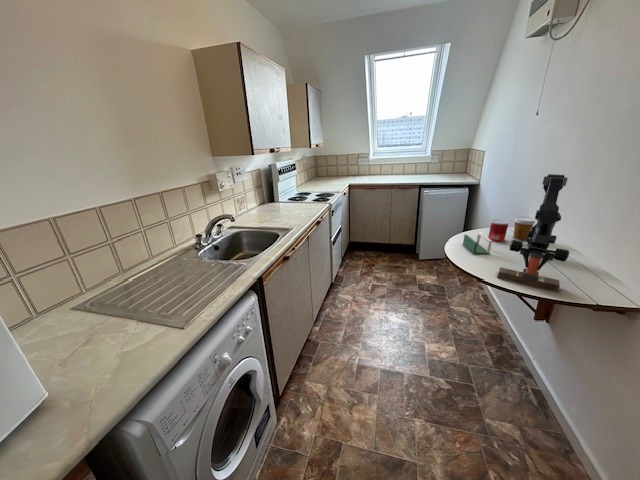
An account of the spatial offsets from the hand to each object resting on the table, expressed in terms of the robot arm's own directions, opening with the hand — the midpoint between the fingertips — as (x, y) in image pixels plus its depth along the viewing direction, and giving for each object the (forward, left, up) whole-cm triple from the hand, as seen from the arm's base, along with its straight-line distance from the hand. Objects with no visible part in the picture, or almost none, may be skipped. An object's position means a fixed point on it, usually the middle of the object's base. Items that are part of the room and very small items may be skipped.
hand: (532, 268), depth 107 cm
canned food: (-14, -48, -7) cm, 50 cm away
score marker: (-1, -1, -4) cm, 4 cm away
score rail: (0, -1, -7) cm, 7 cm away
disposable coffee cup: (-28, -49, -7) cm, 56 cm away
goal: (+4, -35, -7) cm, 36 cm away
